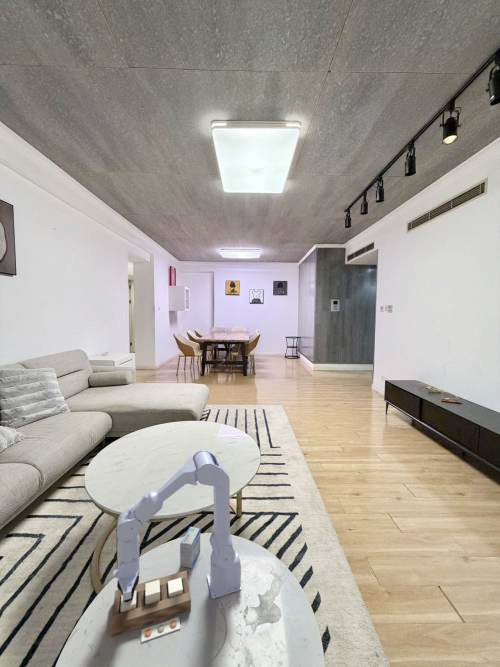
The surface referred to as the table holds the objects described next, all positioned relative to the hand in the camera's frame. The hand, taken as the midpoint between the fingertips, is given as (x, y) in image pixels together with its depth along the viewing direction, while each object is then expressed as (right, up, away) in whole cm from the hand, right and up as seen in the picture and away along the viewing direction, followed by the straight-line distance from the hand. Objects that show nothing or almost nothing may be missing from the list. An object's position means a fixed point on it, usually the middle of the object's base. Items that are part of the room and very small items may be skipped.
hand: (128, 599), depth 81 cm
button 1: (0, -3, 0) cm, 3 cm away
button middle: (+6, -2, +2) cm, 7 cm away
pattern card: (+10, -5, -4) cm, 12 cm away
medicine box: (+14, -4, +19) cm, 24 cm away
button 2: (+12, -3, +5) cm, 13 cm away
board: (+6, -4, +3) cm, 8 cm away
